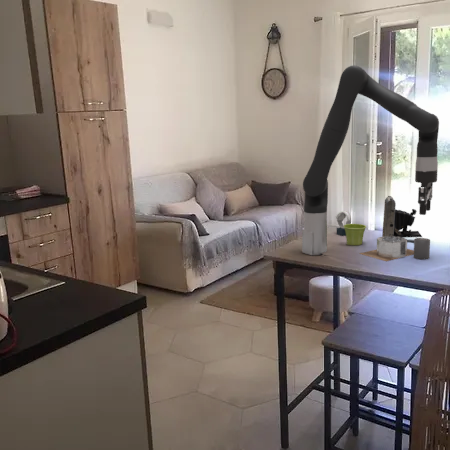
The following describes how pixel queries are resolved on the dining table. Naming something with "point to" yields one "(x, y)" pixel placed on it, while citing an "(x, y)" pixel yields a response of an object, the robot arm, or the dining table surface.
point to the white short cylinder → (392, 246)
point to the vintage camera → (397, 221)
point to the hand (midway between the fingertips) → (424, 212)
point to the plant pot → (354, 233)
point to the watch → (340, 218)
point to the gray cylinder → (421, 248)
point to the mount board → (375, 255)
